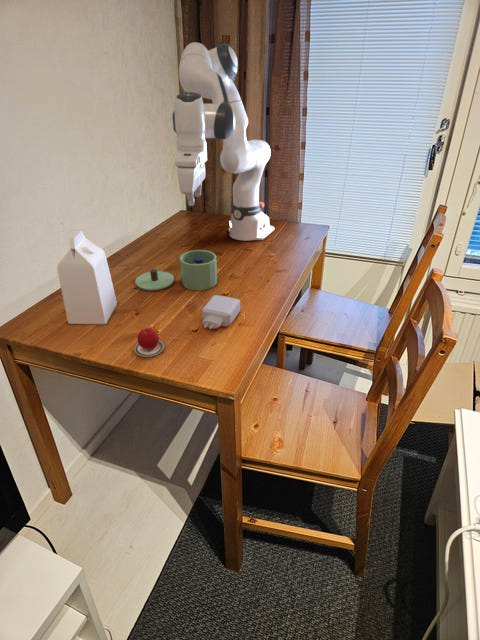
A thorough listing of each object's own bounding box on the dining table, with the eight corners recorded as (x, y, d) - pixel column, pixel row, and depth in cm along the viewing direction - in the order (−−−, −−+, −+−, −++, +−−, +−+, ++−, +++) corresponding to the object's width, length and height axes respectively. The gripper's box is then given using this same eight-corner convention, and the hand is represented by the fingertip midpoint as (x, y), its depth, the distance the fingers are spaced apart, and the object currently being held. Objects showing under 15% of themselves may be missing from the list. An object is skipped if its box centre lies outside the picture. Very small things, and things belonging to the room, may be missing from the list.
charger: (193, 332, 120) (213, 307, 132) (222, 338, 117) (240, 312, 129) (192, 318, 117) (212, 294, 129) (222, 324, 115) (240, 299, 127)
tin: (198, 270, 154) (196, 247, 149) (224, 280, 148) (223, 255, 142) (174, 283, 146) (171, 258, 140) (200, 293, 139) (199, 268, 134)
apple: (128, 354, 111) (125, 334, 108) (144, 338, 117) (141, 319, 114) (154, 360, 109) (151, 340, 105) (169, 344, 115) (167, 324, 111)
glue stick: (199, 277, 148) (197, 255, 144) (205, 280, 147) (204, 258, 142) (193, 280, 146) (191, 258, 141) (199, 283, 144) (198, 261, 140)
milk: (82, 303, 134) (63, 226, 120) (117, 303, 134) (102, 226, 120) (68, 323, 124) (46, 242, 110) (105, 324, 124) (88, 242, 109)
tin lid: (156, 270, 154) (154, 259, 151) (182, 281, 147) (181, 269, 145) (127, 284, 145) (125, 272, 142) (153, 295, 138) (152, 283, 135)
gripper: (189, 147, 132) (192, 191, 140) (173, 161, 115) (177, 210, 123) (209, 148, 131) (210, 191, 139) (195, 162, 114) (197, 211, 122)
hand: (194, 200), depth 131 cm, fingers open, 8 cm apart
